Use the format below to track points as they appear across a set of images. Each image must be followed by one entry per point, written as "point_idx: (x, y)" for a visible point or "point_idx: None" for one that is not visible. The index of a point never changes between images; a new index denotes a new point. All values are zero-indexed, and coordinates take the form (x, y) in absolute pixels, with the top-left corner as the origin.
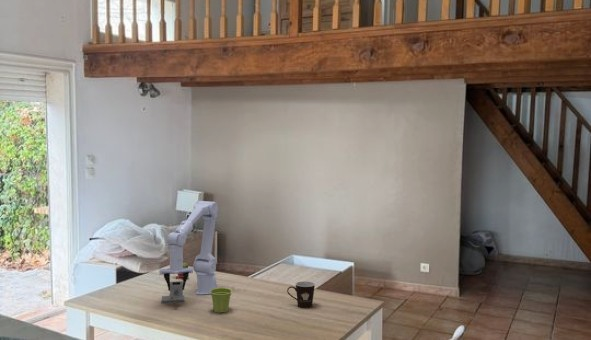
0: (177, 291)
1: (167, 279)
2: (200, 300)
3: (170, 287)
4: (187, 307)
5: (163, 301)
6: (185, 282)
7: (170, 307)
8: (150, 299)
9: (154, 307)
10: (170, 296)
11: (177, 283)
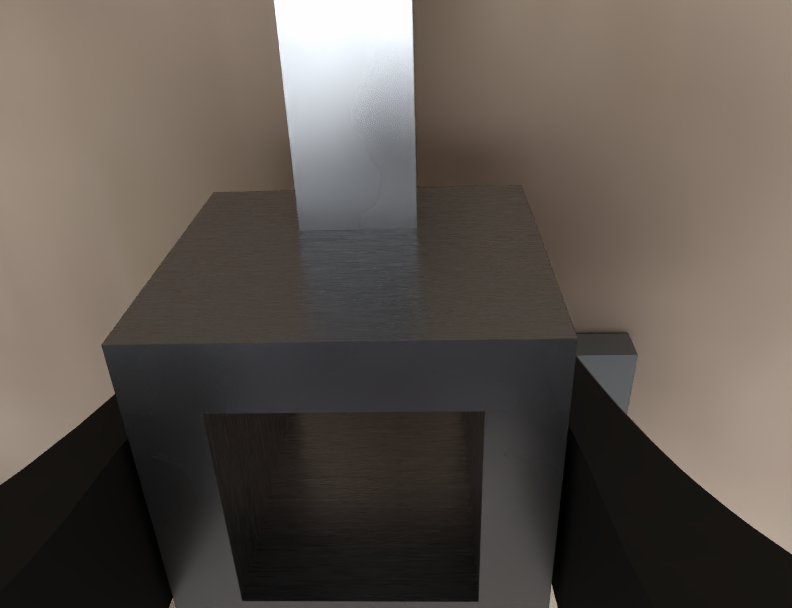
0: (320, 242)
1: (749, 594)
2: (30, 371)
3: (546, 301)
4: (161, 53)
5: (601, 348)
6: (5, 485)
7: (486, 99)
8: (763, 492)
9: (778, 140)
10: (508, 188)
11: (332, 566)
